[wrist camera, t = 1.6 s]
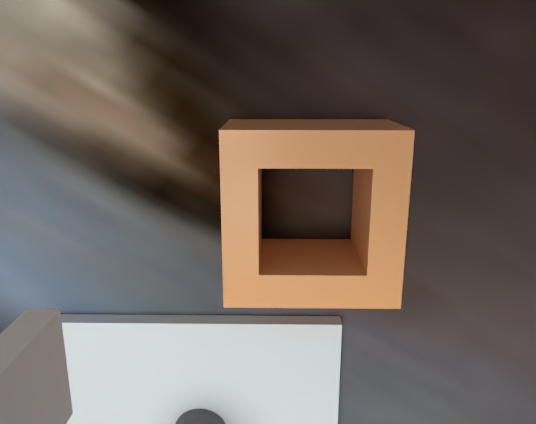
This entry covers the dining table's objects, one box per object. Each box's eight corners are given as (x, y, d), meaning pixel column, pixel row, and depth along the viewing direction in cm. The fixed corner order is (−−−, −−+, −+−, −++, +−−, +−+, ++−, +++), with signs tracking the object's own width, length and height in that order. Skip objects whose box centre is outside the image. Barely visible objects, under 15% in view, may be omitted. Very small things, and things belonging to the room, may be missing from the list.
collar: (229, 118, 25) (218, 129, 20) (388, 119, 25) (415, 130, 20) (232, 266, 27) (223, 307, 22) (378, 267, 27) (400, 309, 22)
